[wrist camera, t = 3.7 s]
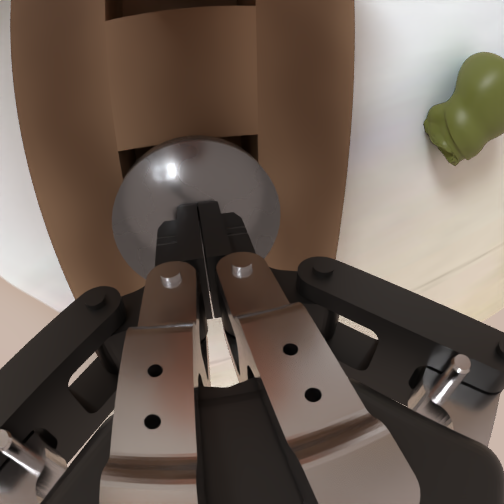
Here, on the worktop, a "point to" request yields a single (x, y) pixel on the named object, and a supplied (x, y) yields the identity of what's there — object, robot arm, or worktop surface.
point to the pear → (470, 109)
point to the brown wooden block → (181, 111)
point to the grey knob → (192, 195)
